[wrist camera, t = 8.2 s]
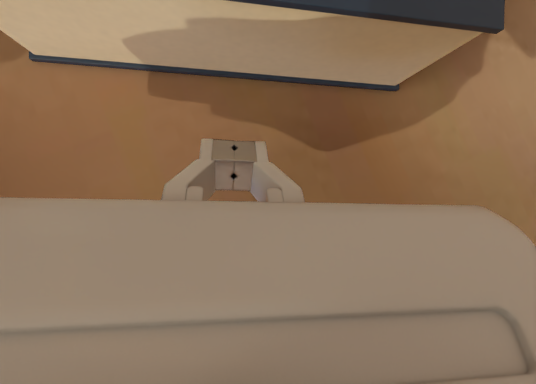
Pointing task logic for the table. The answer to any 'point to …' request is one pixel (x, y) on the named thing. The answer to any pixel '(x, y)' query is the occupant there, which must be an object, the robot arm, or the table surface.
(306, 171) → the table surface
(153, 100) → the table surface
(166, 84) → the table surface
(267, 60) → the dictionary
